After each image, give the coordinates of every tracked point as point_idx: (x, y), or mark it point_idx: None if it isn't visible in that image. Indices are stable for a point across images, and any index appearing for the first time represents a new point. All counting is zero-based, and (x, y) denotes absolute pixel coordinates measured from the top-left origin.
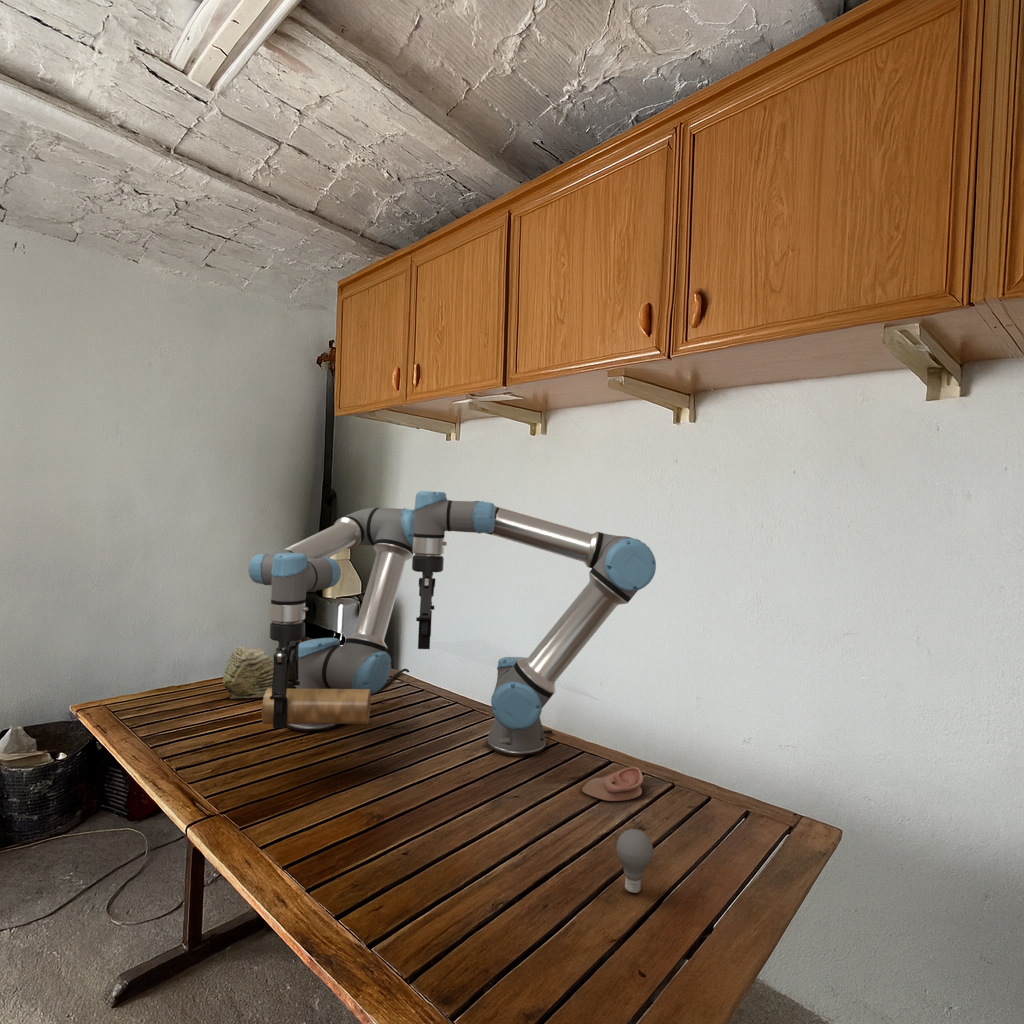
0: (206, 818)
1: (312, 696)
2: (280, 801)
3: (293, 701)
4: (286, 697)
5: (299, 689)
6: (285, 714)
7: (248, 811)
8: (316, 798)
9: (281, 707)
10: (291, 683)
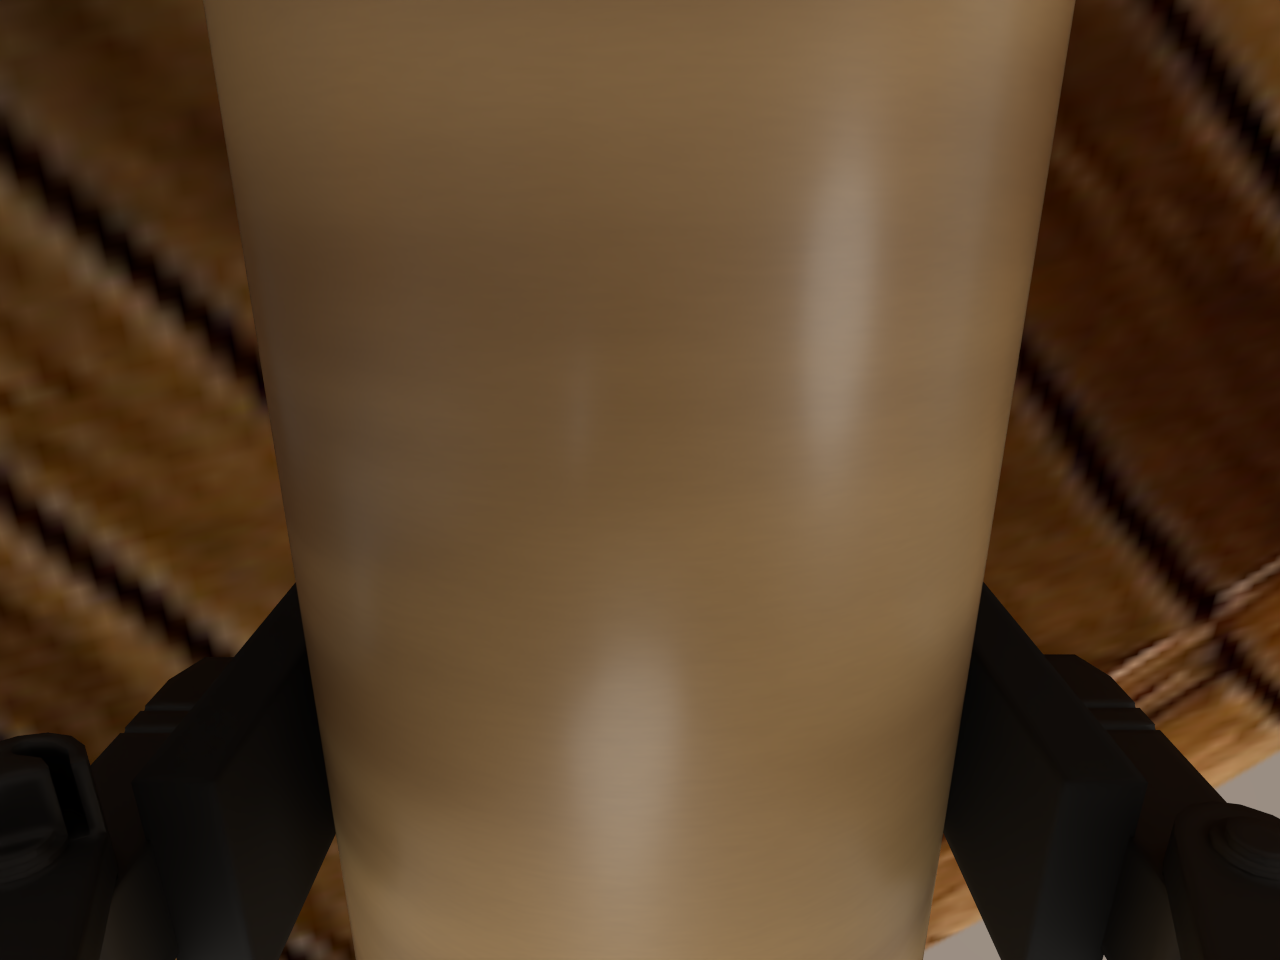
0: (1255, 668)
1: (989, 178)
2: (1129, 300)
3: (976, 611)
4: (915, 801)
5: (659, 659)
6: (992, 607)
7: (1228, 470)
8: (1138, 24)
9: (1161, 745)
10: (114, 936)
